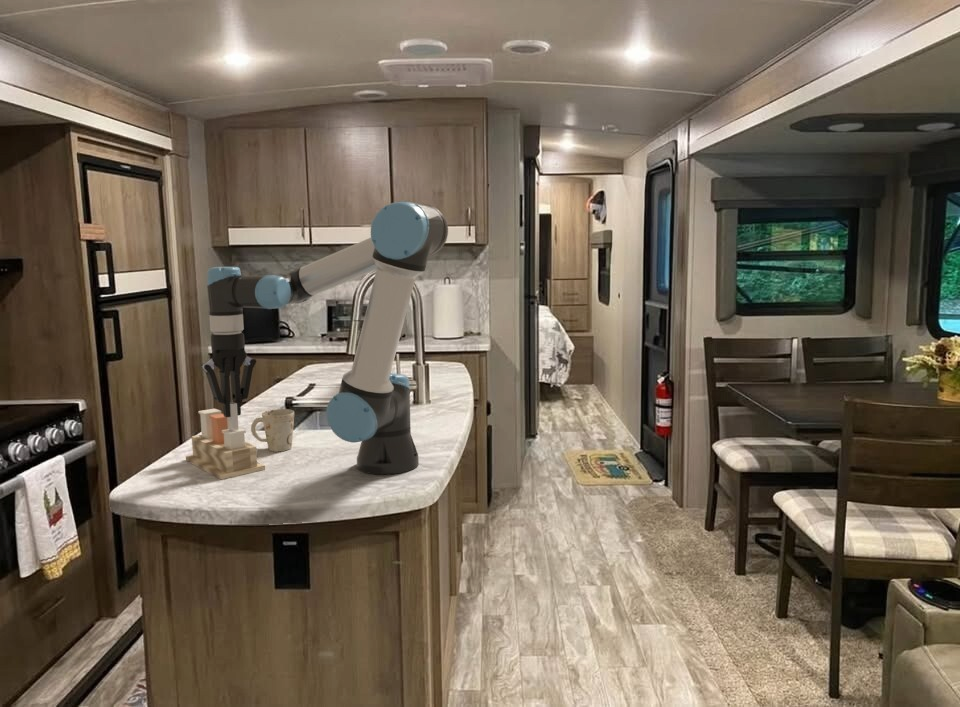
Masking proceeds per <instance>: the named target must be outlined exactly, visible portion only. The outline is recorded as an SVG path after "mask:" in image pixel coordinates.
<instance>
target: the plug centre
mask: <svg viewBox="0 0 960 707" xmlns="http://www.w3.org/2000/svg"><path fill="white" fill-rule="evenodd" d="M209 417H210V418H211V422H212V436H213V443H215V444H217V445H220V444H224V434H223V433H222V430H227V429H228V423H227V417H224V415H223V413H222V412H221V414H216V415H210V416H209Z"/></svg>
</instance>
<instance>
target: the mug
mask: <svg viewBox="0 0 960 707" xmlns="http://www.w3.org/2000/svg"><path fill="white" fill-rule="evenodd" d="M294 420H295V411H294V410H292V409H289V408H276V409H271V410H270V409H269V410H265V411H264V412H262V413H261V417H256V418H255V419H253V421H252V423H251V426H250V432H251V434H252V436H253V437H254V439H256V440H258V441H260V442H262V443H264V442H265V443H266V444H267V447H268V450H269V451H270V452H273V451H274V452H275V453H276V452H277V453H279V452H278V451H281V452H286V451H285V450H287V451H289V450H291V449H292V447H293V434H294V424H295V423H294V422H295V421H294ZM259 423H263V428H264V433H265V438H262V437H261V436H259V435H258V433H257V430H256V426H257V425H258V424H259ZM290 448H291V449H290Z"/></svg>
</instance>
